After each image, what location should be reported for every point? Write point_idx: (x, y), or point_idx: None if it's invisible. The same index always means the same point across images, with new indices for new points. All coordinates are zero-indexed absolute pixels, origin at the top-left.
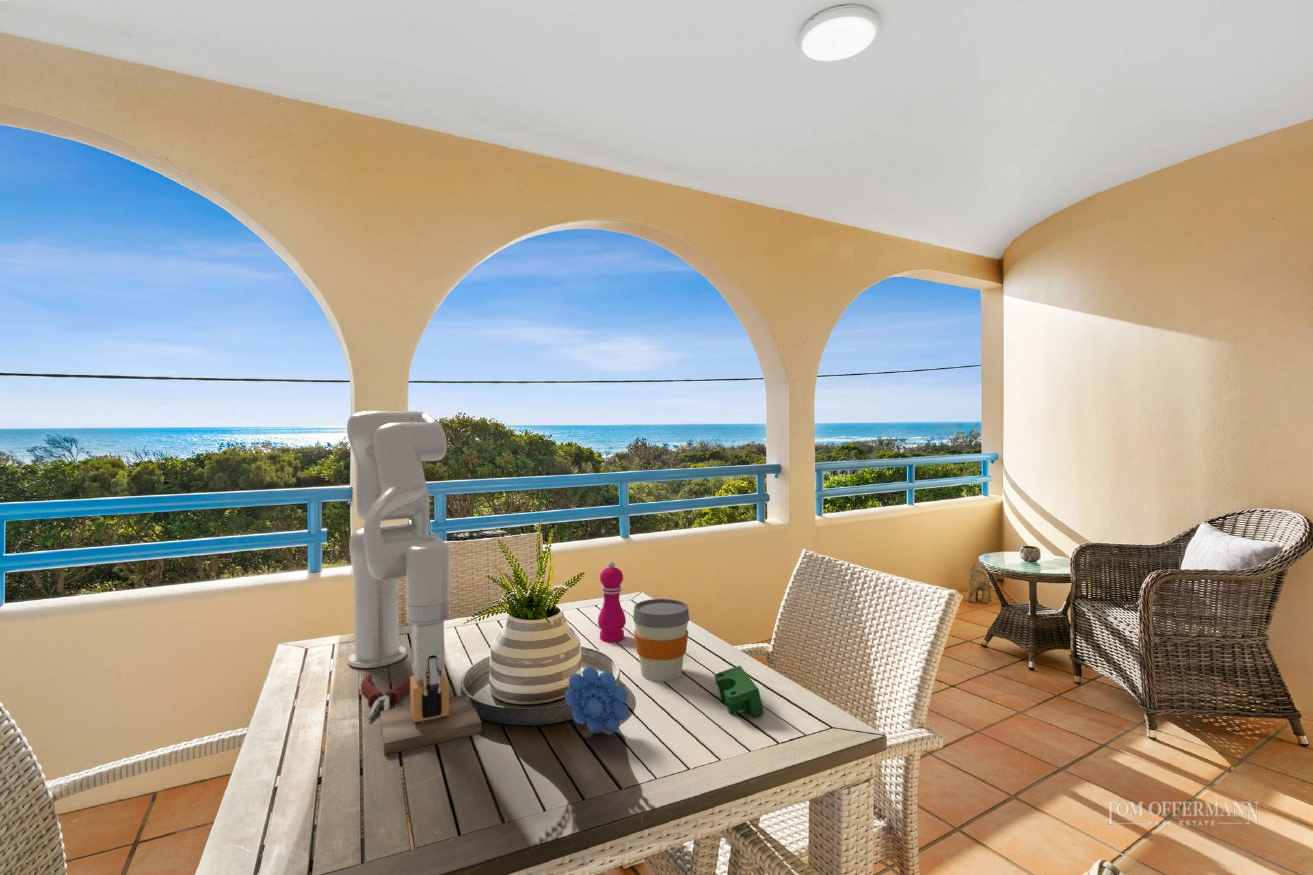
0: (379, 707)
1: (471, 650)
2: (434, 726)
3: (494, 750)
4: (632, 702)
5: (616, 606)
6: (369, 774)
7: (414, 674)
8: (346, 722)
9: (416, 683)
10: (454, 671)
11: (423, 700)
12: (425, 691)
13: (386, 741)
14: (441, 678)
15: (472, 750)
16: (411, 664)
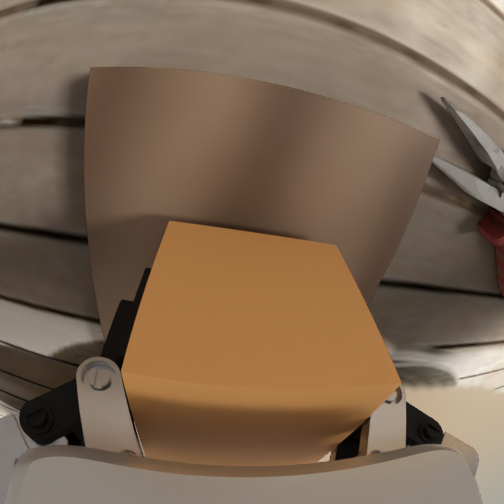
0: (491, 170)
1: (491, 376)
2: (137, 275)
3: (34, 331)
4: None
5: None
6: (24, 26)
7: (105, 497)
8: (477, 50)
9: (227, 403)
10: (470, 354)
11: (123, 335)
12: (77, 390)
13: (102, 77)
14: (217, 460)
15: (41, 302)
16: (411, 477)
